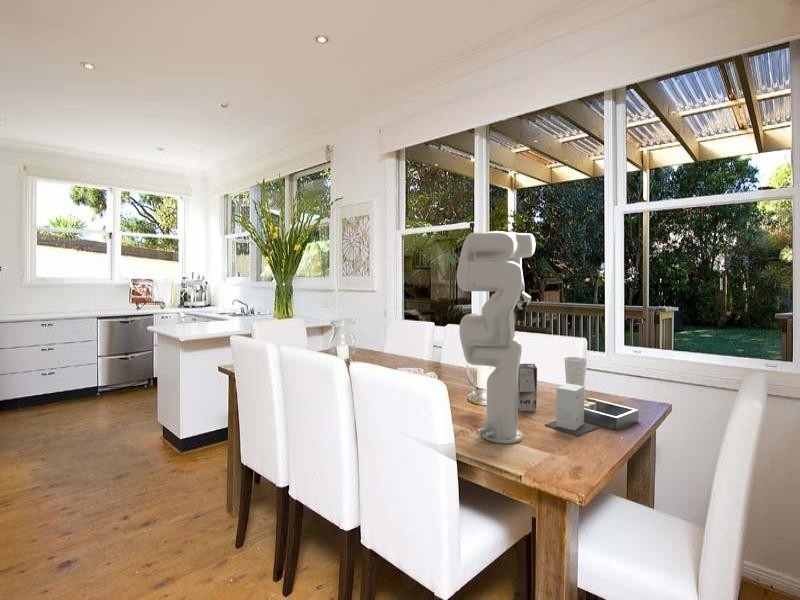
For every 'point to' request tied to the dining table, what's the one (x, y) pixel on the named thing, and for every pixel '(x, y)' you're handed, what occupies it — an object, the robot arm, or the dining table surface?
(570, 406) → the small box
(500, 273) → the robot arm
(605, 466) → the dining table surface
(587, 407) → the offcut
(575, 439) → the dining table surface
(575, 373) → the cup
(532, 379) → the coffee box
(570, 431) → the mat
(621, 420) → the grey tray
